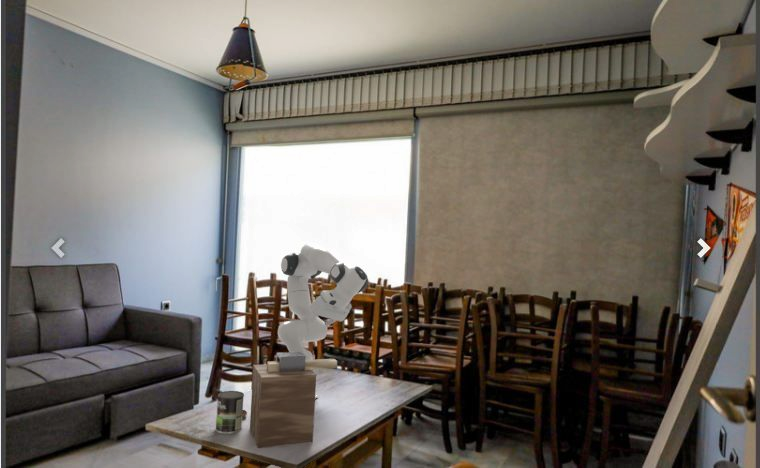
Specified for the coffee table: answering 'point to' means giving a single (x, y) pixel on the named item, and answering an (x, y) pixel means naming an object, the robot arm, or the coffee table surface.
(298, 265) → the robot arm
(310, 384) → the brown tall wooden box
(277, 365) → the beech bar
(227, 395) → the coffee can
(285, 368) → the metal tunnel
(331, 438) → the coffee table surface
